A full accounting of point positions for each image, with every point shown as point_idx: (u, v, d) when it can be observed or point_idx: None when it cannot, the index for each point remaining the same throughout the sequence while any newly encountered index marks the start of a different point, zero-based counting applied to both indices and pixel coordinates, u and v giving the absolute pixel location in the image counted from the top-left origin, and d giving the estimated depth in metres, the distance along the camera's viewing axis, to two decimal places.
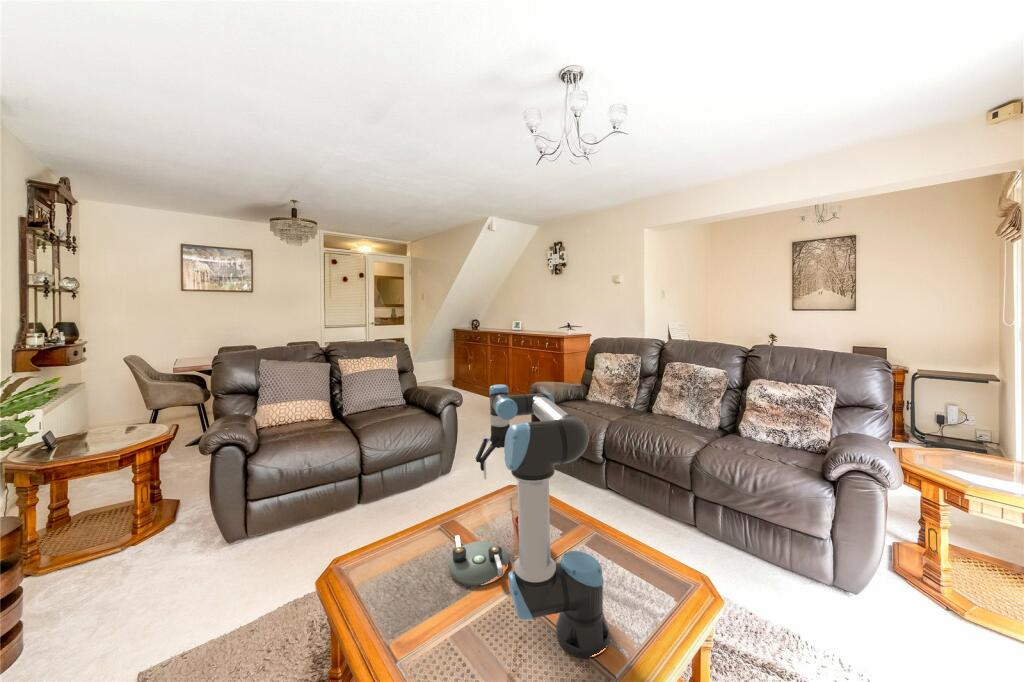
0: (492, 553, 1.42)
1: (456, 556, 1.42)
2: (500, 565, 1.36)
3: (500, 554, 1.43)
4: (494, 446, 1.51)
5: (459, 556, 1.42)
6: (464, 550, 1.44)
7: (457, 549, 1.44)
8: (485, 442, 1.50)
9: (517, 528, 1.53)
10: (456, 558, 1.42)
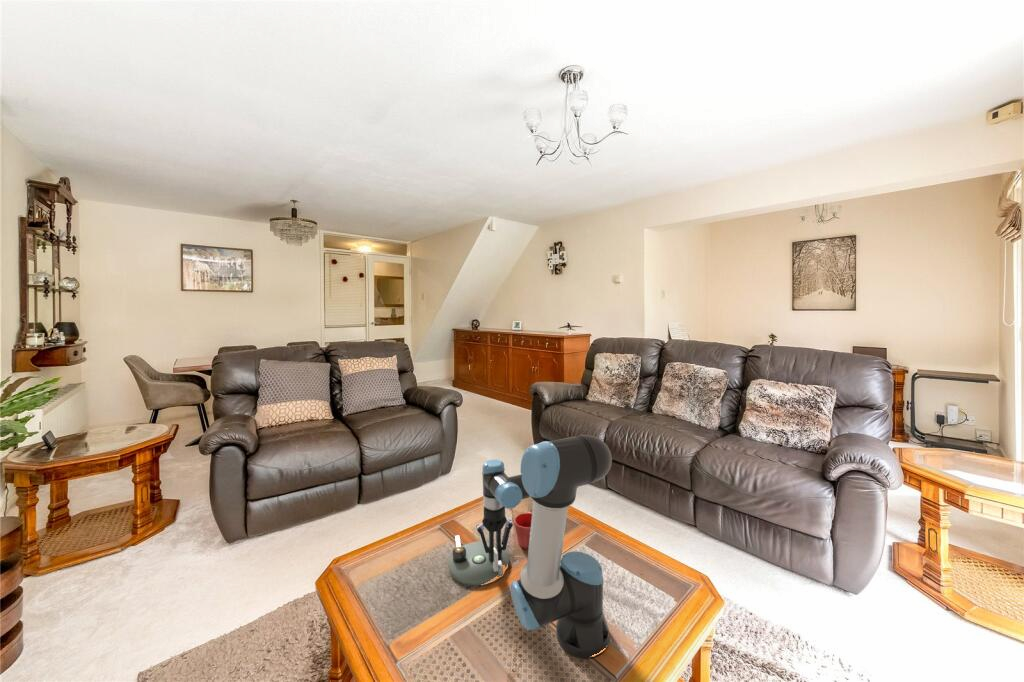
0: None
1: (456, 556, 1.42)
2: (501, 565, 1.36)
3: None
4: (491, 532, 1.33)
5: (459, 556, 1.42)
6: (464, 550, 1.44)
7: (457, 549, 1.44)
8: (480, 531, 1.33)
9: (517, 528, 1.53)
10: (456, 558, 1.42)
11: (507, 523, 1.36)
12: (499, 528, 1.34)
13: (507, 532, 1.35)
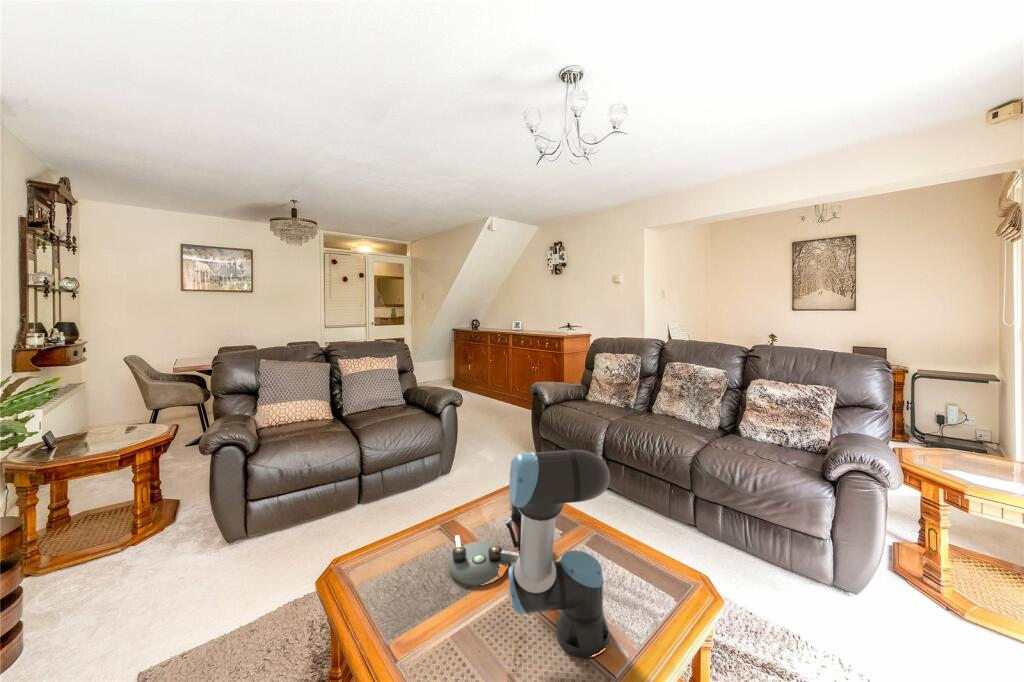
0: (498, 553, 1.42)
1: (456, 556, 1.42)
2: (517, 553, 1.42)
3: None
4: (520, 527, 1.36)
5: (459, 556, 1.42)
6: (464, 550, 1.44)
7: (457, 549, 1.44)
8: (509, 526, 1.35)
9: None
10: (456, 558, 1.42)
11: None
12: None
13: None
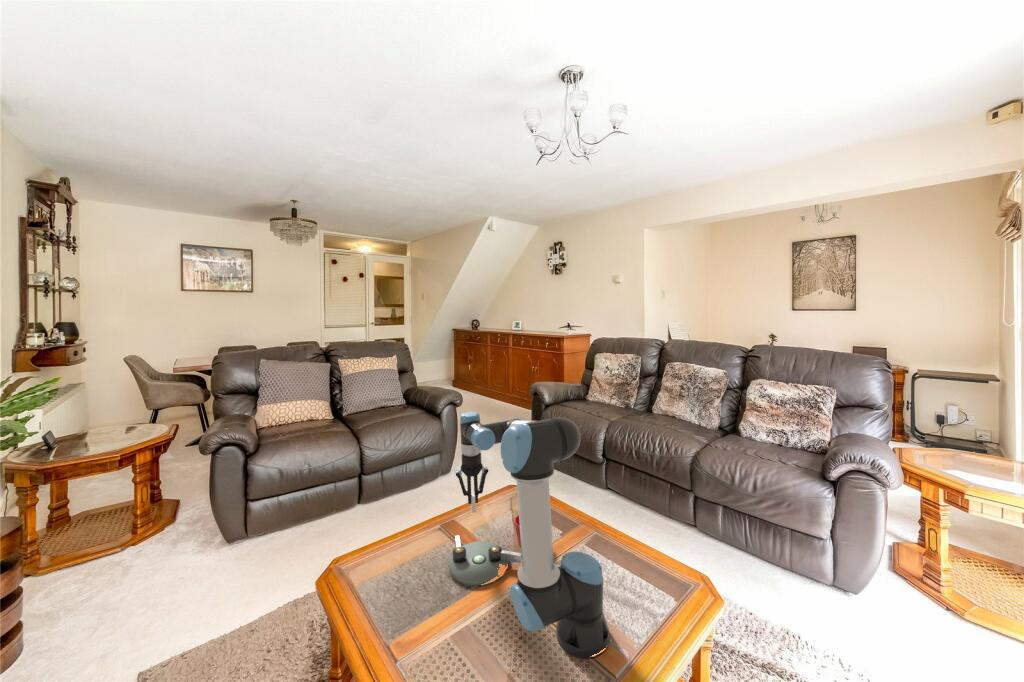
0: (498, 553, 1.42)
1: (456, 556, 1.42)
2: (517, 553, 1.42)
3: None
4: (469, 476, 1.48)
5: (459, 556, 1.42)
6: (464, 550, 1.44)
7: (457, 549, 1.44)
8: (459, 476, 1.47)
9: (517, 528, 1.53)
10: (456, 558, 1.42)
11: (483, 469, 1.50)
12: (476, 473, 1.48)
13: (483, 477, 1.50)
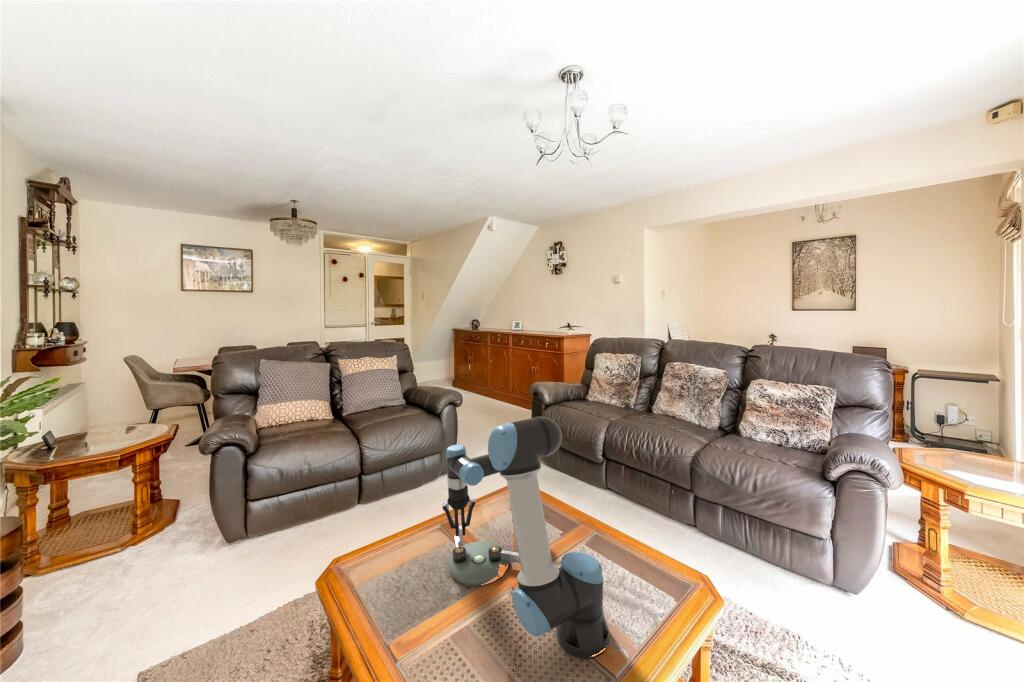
0: (498, 553, 1.42)
1: (456, 556, 1.42)
2: (517, 553, 1.42)
3: None
4: (455, 510, 1.48)
5: (459, 556, 1.42)
6: (464, 550, 1.44)
7: (457, 549, 1.44)
8: (445, 509, 1.48)
9: None
10: (456, 558, 1.42)
11: (470, 502, 1.50)
12: (462, 506, 1.48)
13: (470, 510, 1.50)
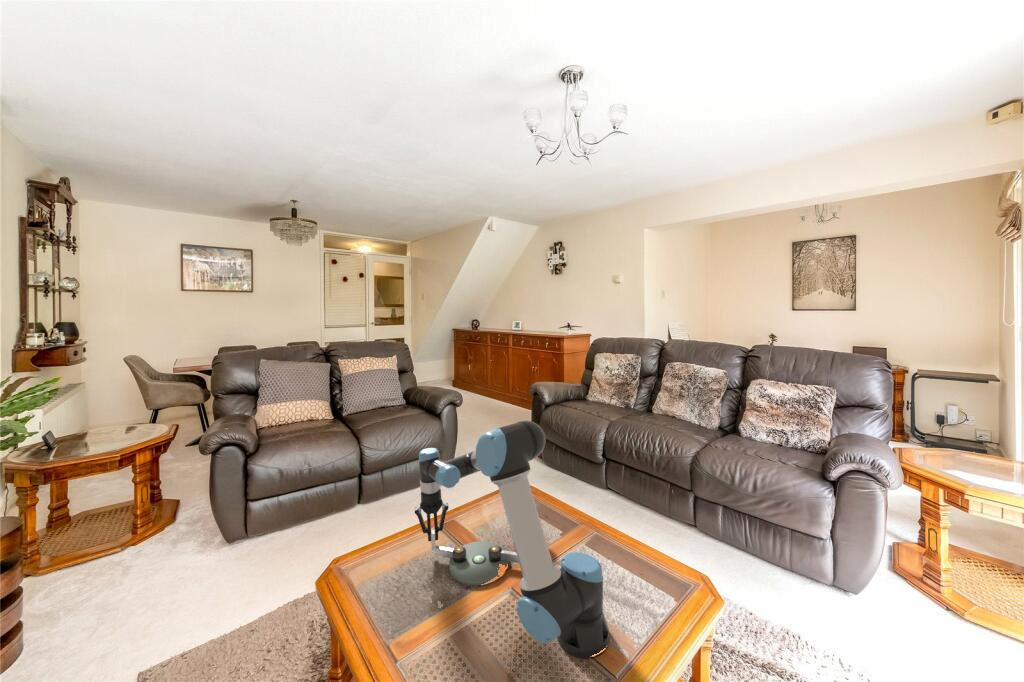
0: (498, 553, 1.42)
1: (463, 555, 1.42)
2: None
3: None
4: (428, 514, 1.46)
5: (465, 553, 1.43)
6: (462, 547, 1.46)
7: (458, 550, 1.43)
8: (418, 513, 1.45)
9: None
10: (463, 556, 1.42)
11: (443, 506, 1.48)
12: (435, 510, 1.46)
13: (443, 514, 1.47)
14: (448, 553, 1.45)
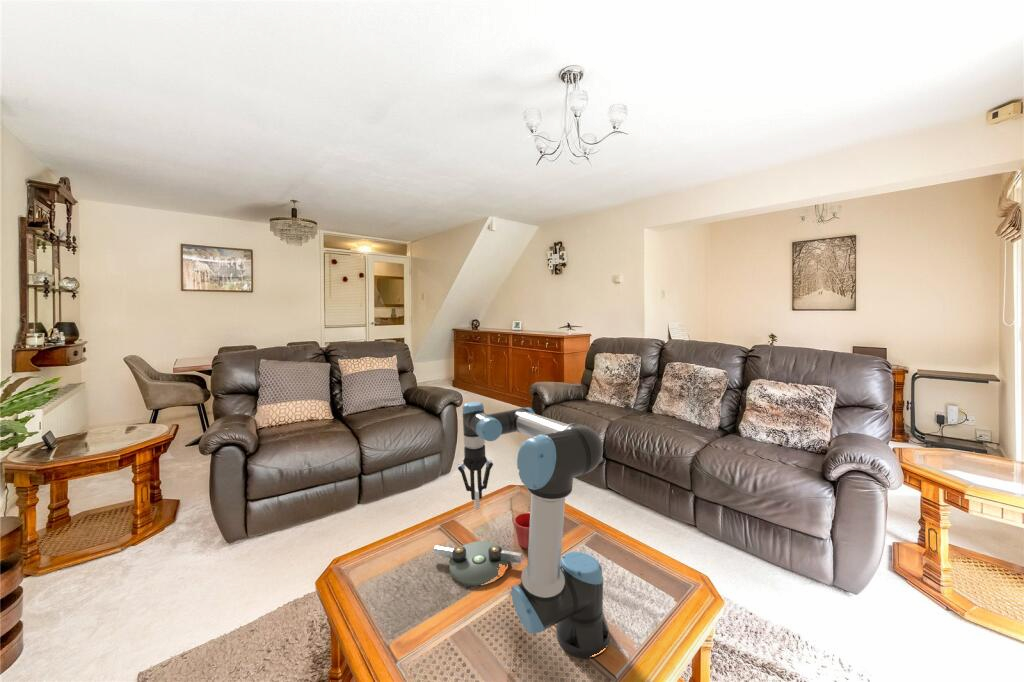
0: (498, 553, 1.42)
1: (463, 555, 1.42)
2: (517, 553, 1.42)
3: None
4: (472, 470, 1.38)
5: (465, 553, 1.43)
6: (462, 547, 1.46)
7: (458, 550, 1.43)
8: (461, 470, 1.38)
9: (517, 528, 1.53)
10: (463, 556, 1.42)
11: (487, 463, 1.41)
12: (479, 467, 1.39)
13: (487, 471, 1.40)
14: (448, 553, 1.45)
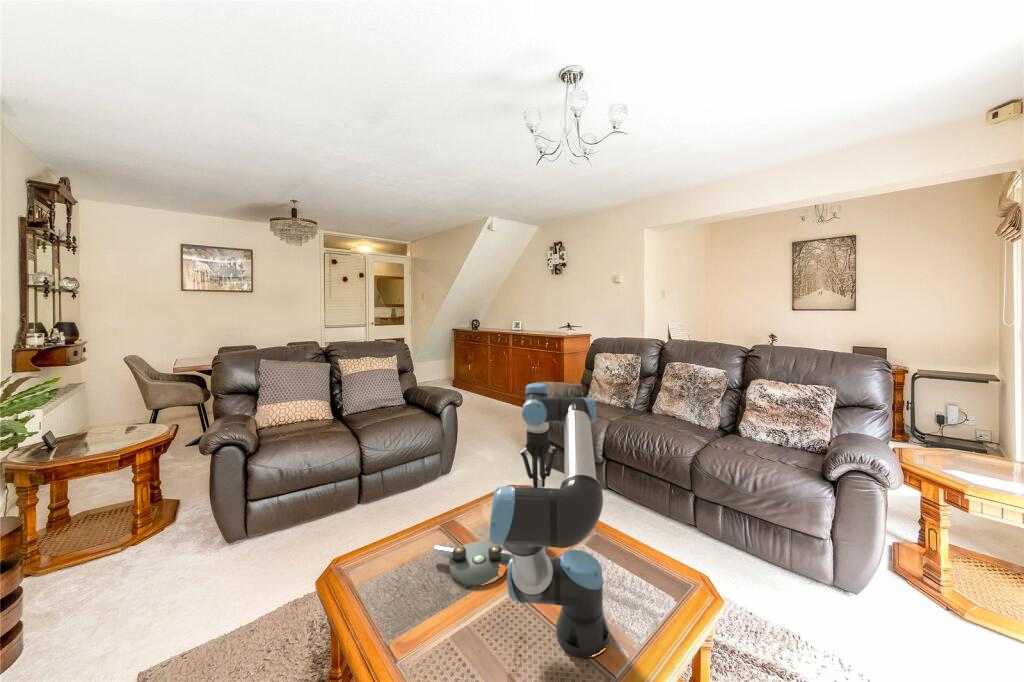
0: (498, 553, 1.42)
1: (463, 555, 1.42)
2: None
3: None
4: (535, 457, 1.29)
5: (465, 553, 1.43)
6: (462, 547, 1.46)
7: (458, 550, 1.43)
8: (524, 456, 1.29)
9: None
10: (463, 556, 1.42)
11: (551, 449, 1.32)
12: (543, 453, 1.30)
13: (551, 458, 1.31)
14: (448, 553, 1.45)
